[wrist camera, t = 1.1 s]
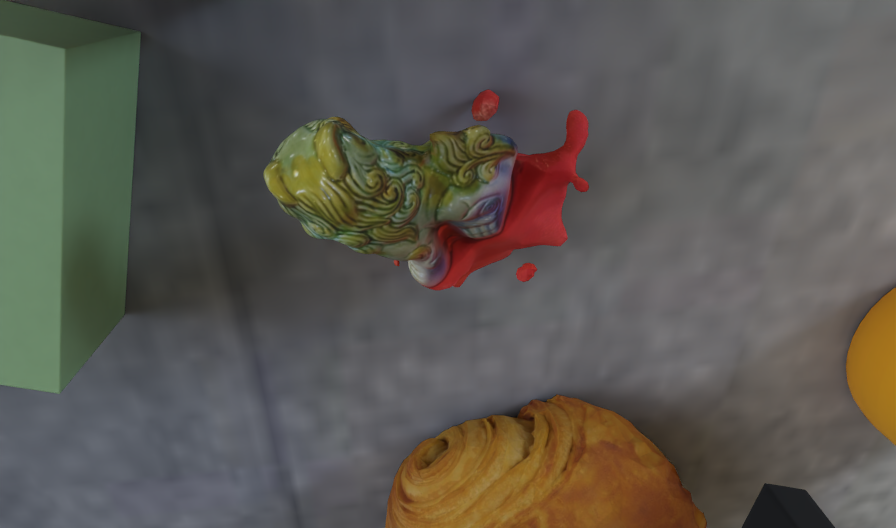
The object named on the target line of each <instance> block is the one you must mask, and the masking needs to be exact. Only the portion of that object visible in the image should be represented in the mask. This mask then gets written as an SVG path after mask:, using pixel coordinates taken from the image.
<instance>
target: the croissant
mask: <svg viewBox="0 0 896 528" xmlns="http://www.w3.org/2000/svg"><path fill="white" fill-rule="evenodd" d="M706 526H707V522H706V519H705V516H704V513H702V512H701V511H700V510H699V509H698V508H697V507H696V506H695V504H694V503H693V502H692V498H691V493H690V492H689V491H688V490H686V489H685V488H683V487H682V484H681V481H680V479H679V476H678V474H677V472H676V469H675V467H674V466H673V465H672V464H671V463H670V462H669V461H668V460H667V459H666V457H665V456H664V455H663V454H662V452H661V451H660V450H659V449H658V448H657V447H656V446H655V445H654V444H653V443H652V442H651V441H650V440H649V439H648V438H646V437H645V436H644V435H643V434H641V433H640V432H639V431H638V430H637V429H636V428H635V427H634V426H633V424H632V423H631V422H630V421H628V420H626V419H625V418H623V417H622V416H620V415H618V414H617V413H615V412H613V411H610V410H607V409H603V408H600V407H597V406H594V405H591V404H589V403H587V402H584V401H582V400H579V399H577V398H569V397H565V396H561V395H556V396H554V397H553V398H552V399H547V401H546V402H541V401H539V400H531V402H530V403H529V404H528V405H527V406H524V407H523V408H522V409H521V410H520V413H519V415H518V417H517V418H513V417H508V416H504V415H491V416H489V417H487V418H483V419H475V420H468V421H465V422H464V423H463V424H460V425H458V426H452V427H451V428H449V429H447V430H445V431H443V432H442V433H441V434H440V435H438V436H437V437H436V438H430V439H427V440H425V441H423V442H421V443H420V444H419V445H418V446H417V447H416V448H415V449H414V450H413V452H412V453H411V454H410V455H409V456H408V457H407V458H406V459H405V460H404V461H403V462H402V464H401V466H400V468H399V470H398V472H397V474H396V476H395V478H394V482H393V486H392V490H391V493H390V496H389V499H388V508H387V517H386V526H385V528H706Z"/></svg>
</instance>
